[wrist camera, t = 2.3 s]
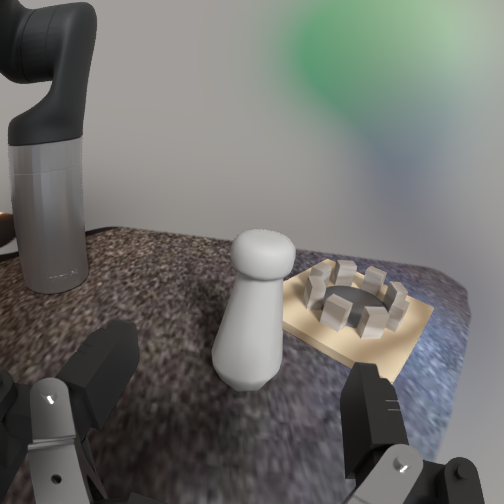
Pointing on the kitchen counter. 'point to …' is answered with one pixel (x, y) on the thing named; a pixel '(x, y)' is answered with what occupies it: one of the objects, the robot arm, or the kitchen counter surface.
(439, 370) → the kitchen counter surface
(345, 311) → the stonehenge model
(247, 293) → the salt shaker
